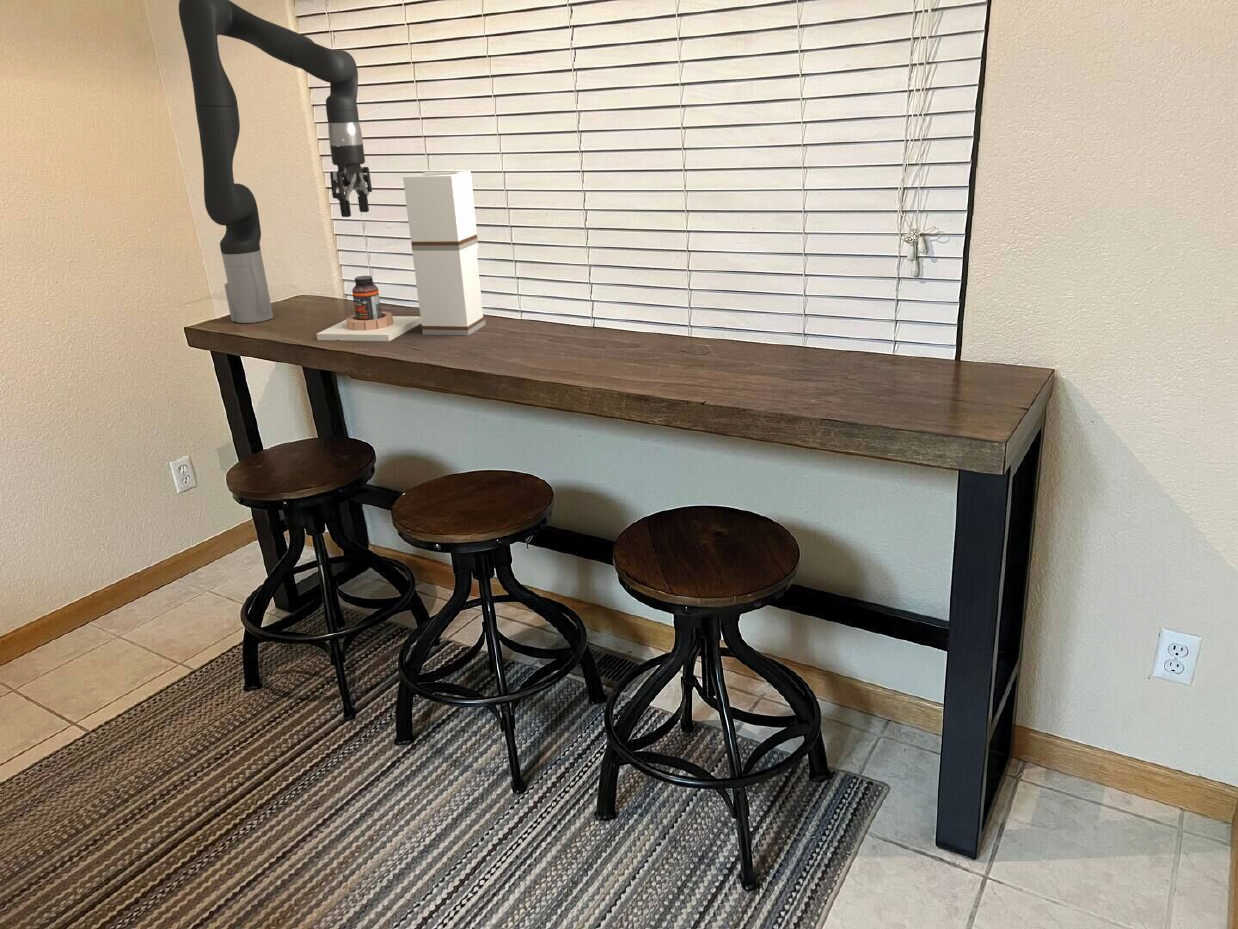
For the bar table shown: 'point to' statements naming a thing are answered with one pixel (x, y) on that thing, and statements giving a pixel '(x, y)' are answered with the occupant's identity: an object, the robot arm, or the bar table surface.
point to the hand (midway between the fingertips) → (355, 214)
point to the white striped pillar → (445, 252)
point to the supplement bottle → (366, 299)
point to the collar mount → (370, 328)
